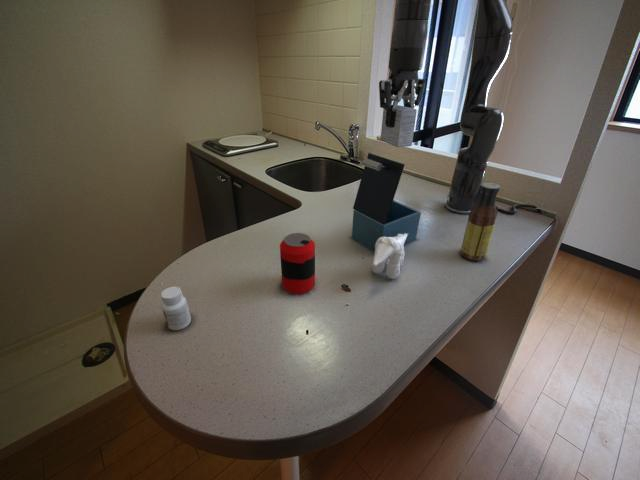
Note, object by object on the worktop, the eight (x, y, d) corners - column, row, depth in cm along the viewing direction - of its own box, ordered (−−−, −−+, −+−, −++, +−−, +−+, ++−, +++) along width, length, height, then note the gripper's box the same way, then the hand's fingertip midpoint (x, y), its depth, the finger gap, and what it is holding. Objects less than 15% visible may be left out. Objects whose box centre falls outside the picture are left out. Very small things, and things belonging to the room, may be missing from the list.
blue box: (386, 224, 100) (389, 198, 95) (415, 239, 92) (421, 212, 87) (351, 237, 92) (353, 210, 88) (380, 255, 84) (384, 226, 80)
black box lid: (370, 153, 82) (355, 150, 79) (405, 164, 74) (390, 161, 71) (354, 208, 88) (340, 208, 84) (385, 224, 80) (371, 225, 76)
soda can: (302, 299, 69) (301, 252, 63) (275, 287, 72) (272, 242, 66) (321, 281, 74) (321, 237, 68) (294, 270, 78) (293, 227, 72)
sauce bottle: (483, 251, 87) (506, 182, 76) (485, 264, 81) (510, 191, 71) (458, 247, 88) (477, 179, 78) (458, 259, 83) (479, 188, 73)
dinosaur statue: (356, 289, 72) (360, 247, 66) (394, 243, 90) (399, 207, 84) (384, 299, 69) (391, 257, 63) (417, 250, 87) (425, 214, 81)
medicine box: (412, 146, 78) (418, 109, 74) (397, 148, 77) (402, 110, 73) (393, 139, 85) (398, 104, 80) (379, 140, 83) (383, 105, 79)
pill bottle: (171, 315, 64) (162, 285, 60) (194, 314, 64) (186, 284, 60) (164, 331, 60) (154, 300, 56) (188, 330, 61) (179, 299, 57)
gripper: (415, 46, 76) (405, 120, 85) (372, 45, 69) (366, 126, 78) (442, 46, 71) (428, 125, 80) (398, 44, 64) (388, 132, 72)
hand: (397, 125), depth 79 cm, fingers closed on medicine box, 5 cm apart
